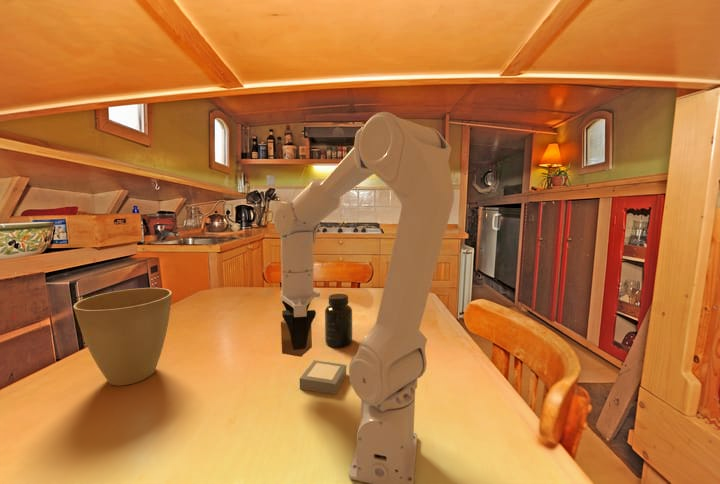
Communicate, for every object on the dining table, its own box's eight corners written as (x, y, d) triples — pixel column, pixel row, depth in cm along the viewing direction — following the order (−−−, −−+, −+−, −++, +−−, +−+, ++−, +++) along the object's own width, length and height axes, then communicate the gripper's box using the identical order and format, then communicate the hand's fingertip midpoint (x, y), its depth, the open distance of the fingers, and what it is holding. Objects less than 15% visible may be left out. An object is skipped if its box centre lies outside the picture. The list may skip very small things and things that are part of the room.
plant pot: (187, 354, 69) (183, 286, 67) (155, 394, 54) (149, 308, 52) (113, 359, 66) (107, 288, 64) (58, 402, 52) (49, 312, 50)
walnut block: (301, 356, 54) (300, 324, 53) (282, 353, 55) (280, 322, 55) (311, 347, 58) (311, 316, 57) (293, 344, 59) (292, 314, 58)
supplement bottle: (340, 334, 81) (340, 290, 79) (357, 342, 76) (358, 296, 75) (319, 342, 76) (319, 295, 75) (336, 351, 71) (337, 302, 70)
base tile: (335, 394, 55) (335, 383, 54) (299, 388, 56) (299, 378, 56) (346, 374, 61) (346, 364, 61) (314, 369, 63) (314, 359, 63)
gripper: (325, 277, 49) (325, 357, 50) (315, 261, 63) (315, 324, 64) (280, 279, 47) (281, 362, 49) (280, 263, 61) (281, 327, 63)
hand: (298, 341), depth 56 cm, fingers closed on walnut block, 6 cm apart
